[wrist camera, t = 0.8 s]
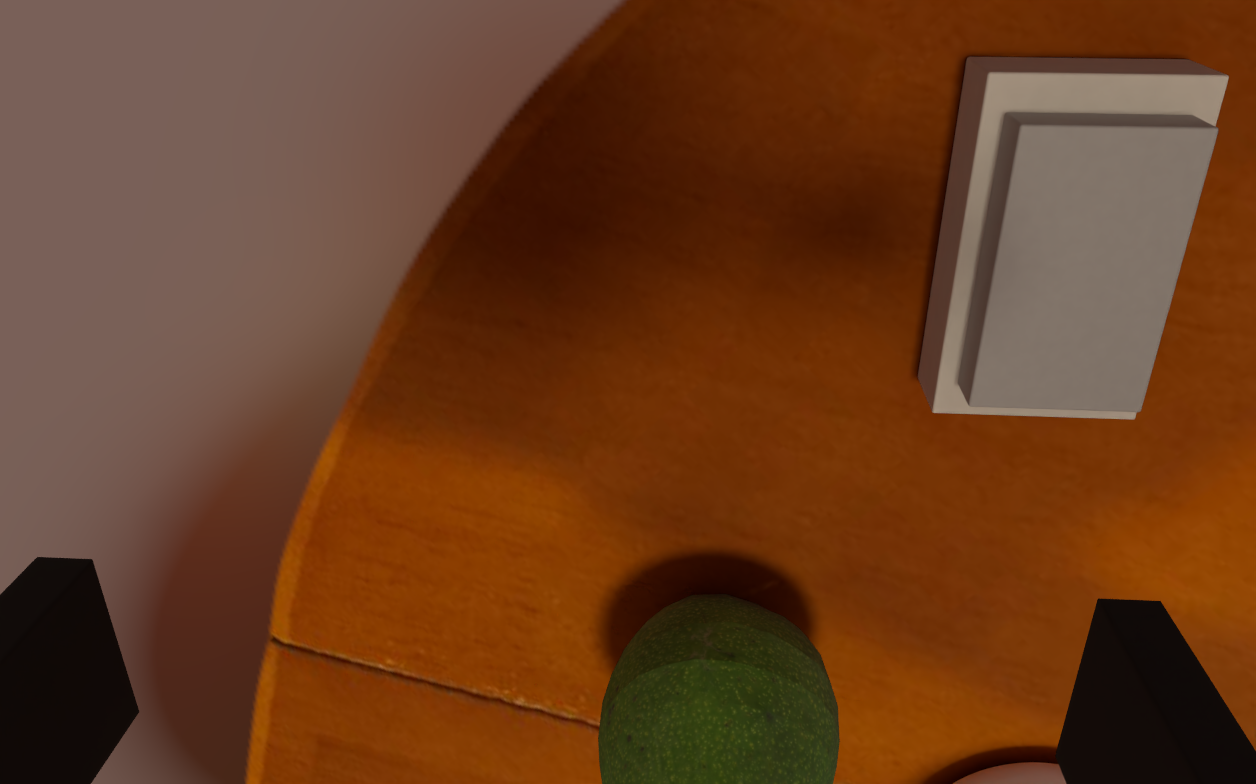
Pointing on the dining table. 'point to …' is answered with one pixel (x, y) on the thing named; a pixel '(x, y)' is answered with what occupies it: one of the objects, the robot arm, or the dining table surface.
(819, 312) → the dining table surface
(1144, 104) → the stepped grey block
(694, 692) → the fruit
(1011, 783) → the cup
